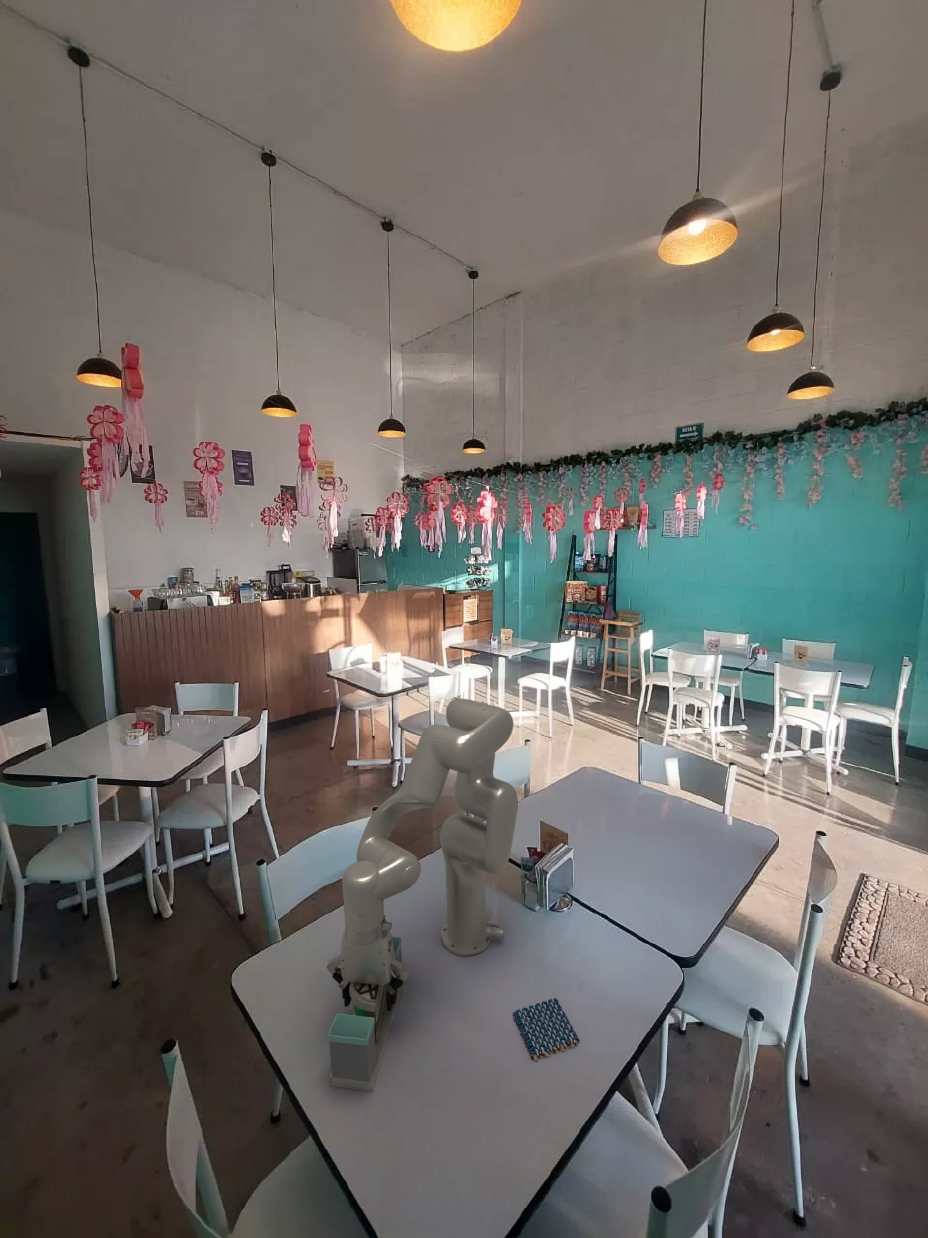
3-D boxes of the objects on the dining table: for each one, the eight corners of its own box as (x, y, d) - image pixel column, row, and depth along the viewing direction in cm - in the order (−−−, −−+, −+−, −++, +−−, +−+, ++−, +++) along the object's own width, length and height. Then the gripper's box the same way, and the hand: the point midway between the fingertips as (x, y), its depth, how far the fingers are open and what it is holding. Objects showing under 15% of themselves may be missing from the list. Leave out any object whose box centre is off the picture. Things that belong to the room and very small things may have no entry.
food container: (357, 990, 110) (356, 949, 108) (385, 990, 109) (385, 950, 108) (343, 1047, 97) (342, 1002, 96) (375, 1048, 97) (374, 1003, 96)
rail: (404, 981, 114) (404, 973, 114) (372, 1091, 91) (371, 1082, 91) (370, 977, 115) (370, 970, 115) (330, 1086, 93) (329, 1076, 92)
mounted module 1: (376, 1059, 95) (374, 1018, 94) (369, 1082, 91) (366, 1040, 90) (340, 1054, 96) (337, 1013, 95) (331, 1077, 92) (328, 1035, 91)
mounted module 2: (402, 973, 114) (401, 937, 112) (397, 989, 110) (396, 953, 108) (371, 970, 115) (369, 934, 113) (365, 986, 111) (363, 949, 109)
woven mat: (582, 1048, 99) (582, 1039, 99) (532, 1065, 96) (532, 1056, 96) (556, 1001, 109) (556, 993, 108) (510, 1016, 106) (510, 1008, 105)
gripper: (413, 916, 102) (416, 991, 105) (330, 908, 104) (335, 982, 107) (403, 945, 95) (407, 1025, 97) (314, 937, 97) (321, 1015, 100)
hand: (369, 1002), depth 102 cm, fingers open, 8 cm apart
